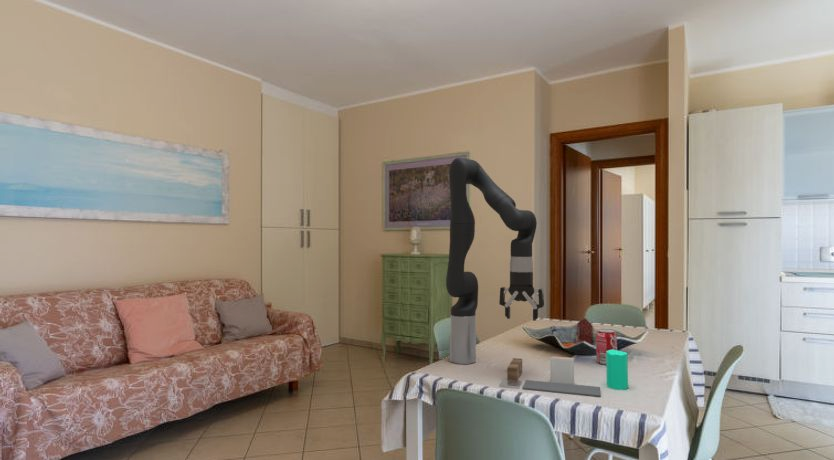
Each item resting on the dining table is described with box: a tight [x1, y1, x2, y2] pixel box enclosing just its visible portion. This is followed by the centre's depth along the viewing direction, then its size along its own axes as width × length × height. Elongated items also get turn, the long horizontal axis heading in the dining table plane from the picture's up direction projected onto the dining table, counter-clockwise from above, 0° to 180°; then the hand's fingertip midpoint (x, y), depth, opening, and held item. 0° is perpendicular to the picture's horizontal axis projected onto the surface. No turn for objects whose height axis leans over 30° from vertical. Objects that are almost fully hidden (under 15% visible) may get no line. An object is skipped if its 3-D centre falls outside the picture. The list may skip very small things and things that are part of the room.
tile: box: [549, 355, 575, 385], centre depth 147 cm, size 7×2×8 cm, turn 70°
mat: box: [522, 379, 602, 398], centre depth 141 cm, size 22×8×1 cm, turn 70°
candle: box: [605, 346, 629, 391], centre depth 143 cm, size 6×6×12 cm
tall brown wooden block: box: [498, 357, 523, 390], centre depth 152 cm, size 19×6×4 cm, turn 160°
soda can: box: [595, 328, 618, 366], centre depth 170 cm, size 7×7×12 cm
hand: (521, 319), depth 154 cm, fingers open, 8 cm apart
